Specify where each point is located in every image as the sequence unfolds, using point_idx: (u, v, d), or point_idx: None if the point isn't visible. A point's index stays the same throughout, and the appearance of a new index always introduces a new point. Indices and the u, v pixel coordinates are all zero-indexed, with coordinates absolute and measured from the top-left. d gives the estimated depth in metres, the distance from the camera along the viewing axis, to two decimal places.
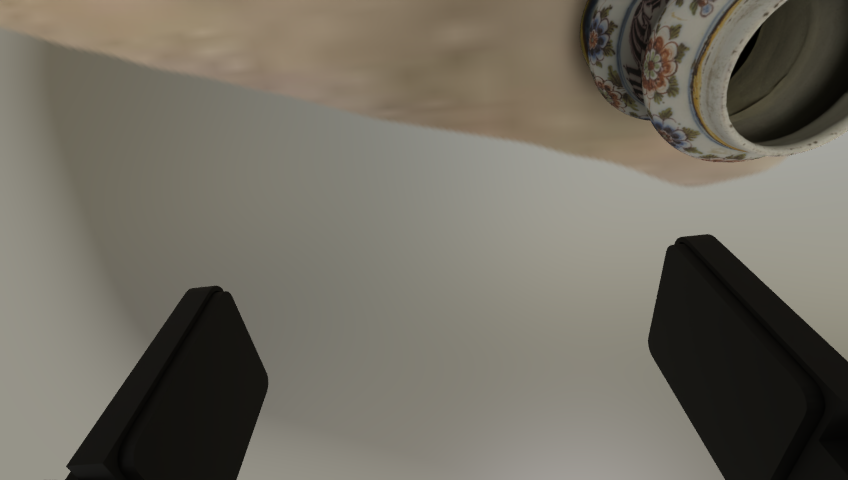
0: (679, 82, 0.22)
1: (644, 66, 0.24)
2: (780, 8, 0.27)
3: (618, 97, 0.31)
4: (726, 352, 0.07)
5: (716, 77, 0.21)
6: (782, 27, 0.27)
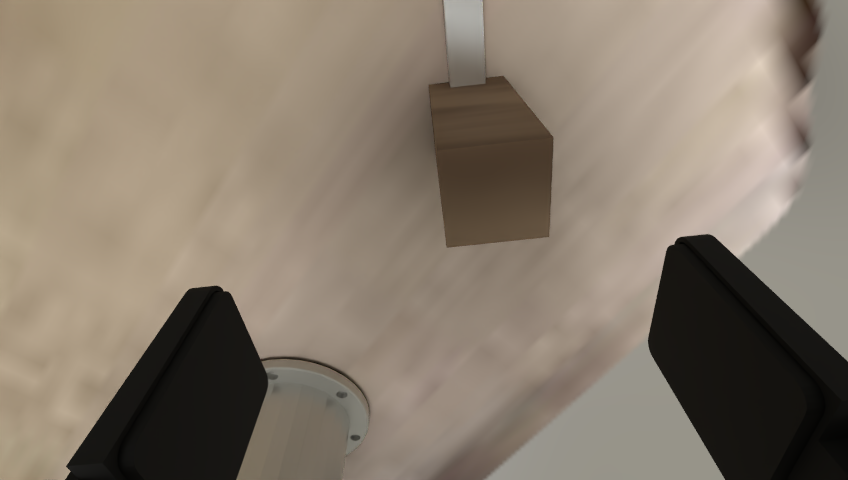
0: None
1: None
2: None
3: None
4: (726, 352, 0.07)
5: None
6: None
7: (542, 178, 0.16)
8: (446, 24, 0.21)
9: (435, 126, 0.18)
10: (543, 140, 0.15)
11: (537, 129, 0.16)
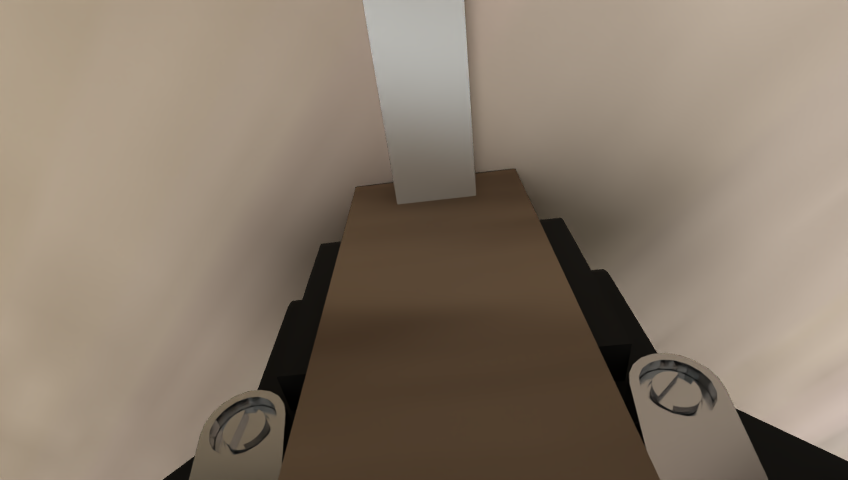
0: None
1: None
2: None
3: None
4: None
5: None
6: None
7: None
8: (376, 69, 0.09)
9: (286, 465, 0.05)
10: None
11: None
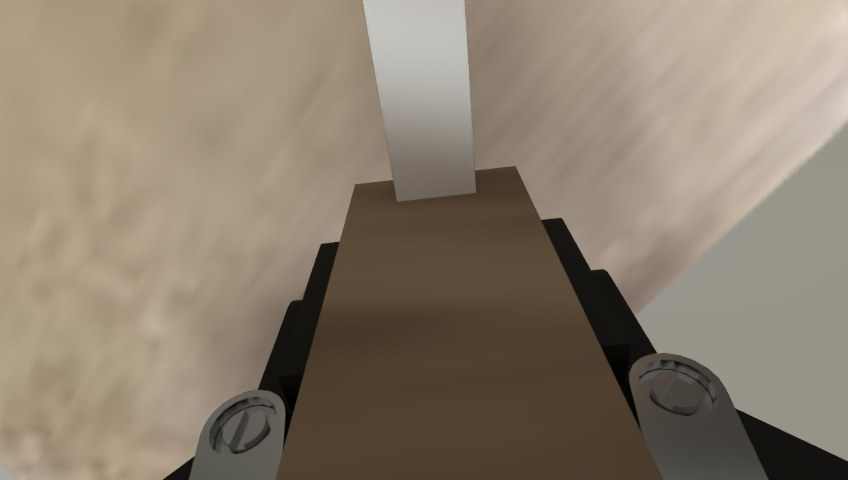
0: None
1: None
2: None
3: None
4: None
5: None
6: None
7: None
8: (376, 65, 0.09)
9: (285, 462, 0.05)
10: None
11: None
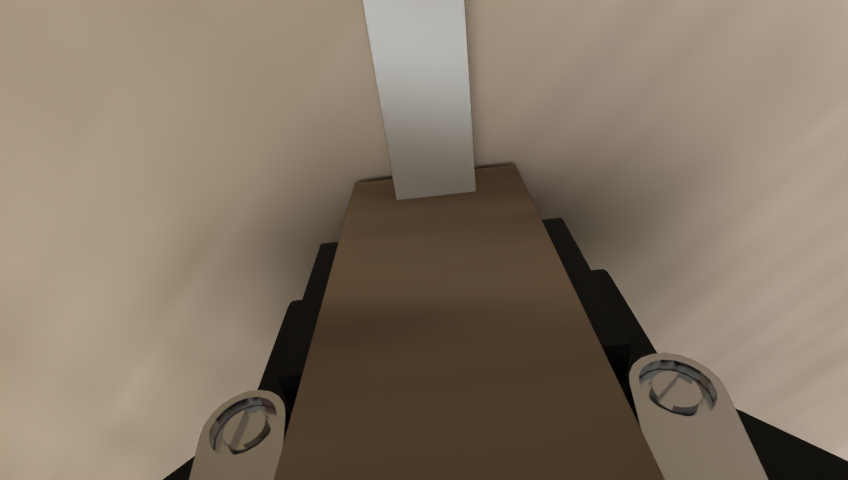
0: None
1: None
2: None
3: None
4: None
5: None
6: None
7: None
8: (375, 63, 0.09)
9: (284, 459, 0.05)
10: None
11: None
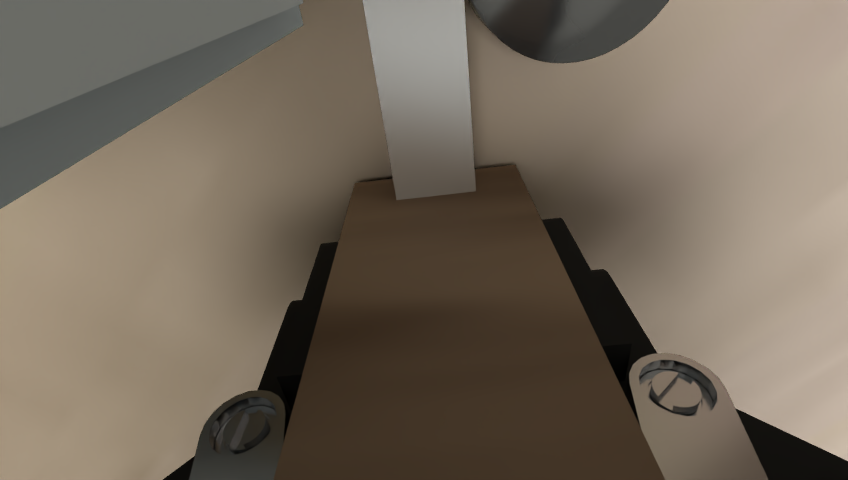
0: None
1: None
2: None
3: None
4: None
5: None
6: None
7: None
8: (375, 63, 0.09)
9: (283, 460, 0.05)
10: None
11: None
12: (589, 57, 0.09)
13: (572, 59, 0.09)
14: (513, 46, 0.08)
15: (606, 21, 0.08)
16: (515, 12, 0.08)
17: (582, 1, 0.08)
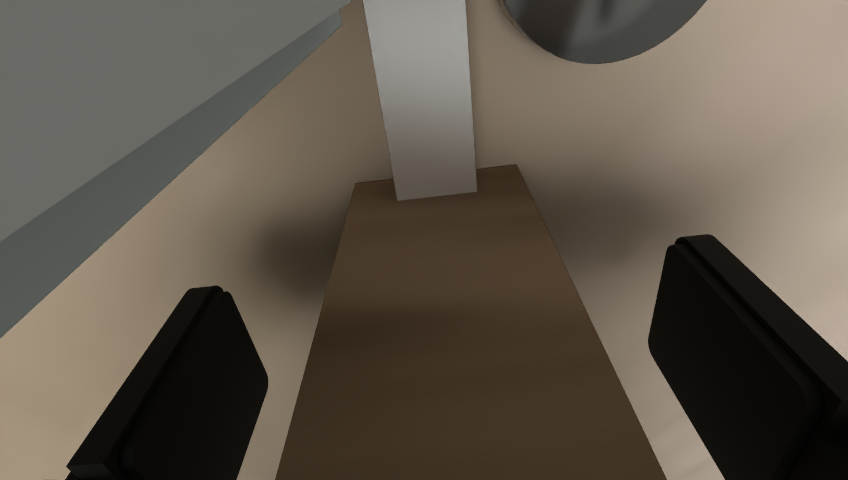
0: None
1: None
2: None
3: None
4: (726, 352, 0.07)
5: None
6: None
7: None
8: (376, 63, 0.09)
9: (284, 465, 0.05)
10: None
11: None
12: (624, 58, 0.08)
13: (606, 60, 0.08)
14: (546, 46, 0.08)
15: (642, 21, 0.08)
16: (549, 12, 0.08)
17: None
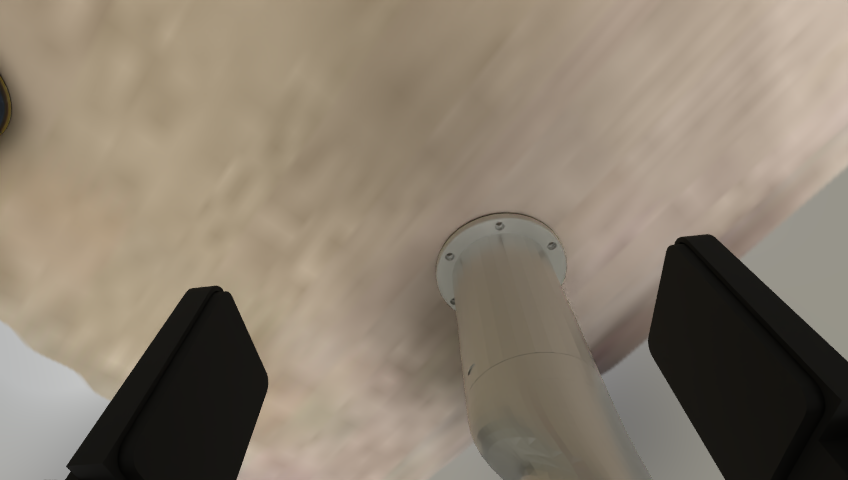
0: None
1: None
2: None
3: None
4: (726, 352, 0.07)
5: None
6: None
7: None
8: None
9: None
10: None
11: None
12: None
13: None
14: None
15: None
16: None
17: None
